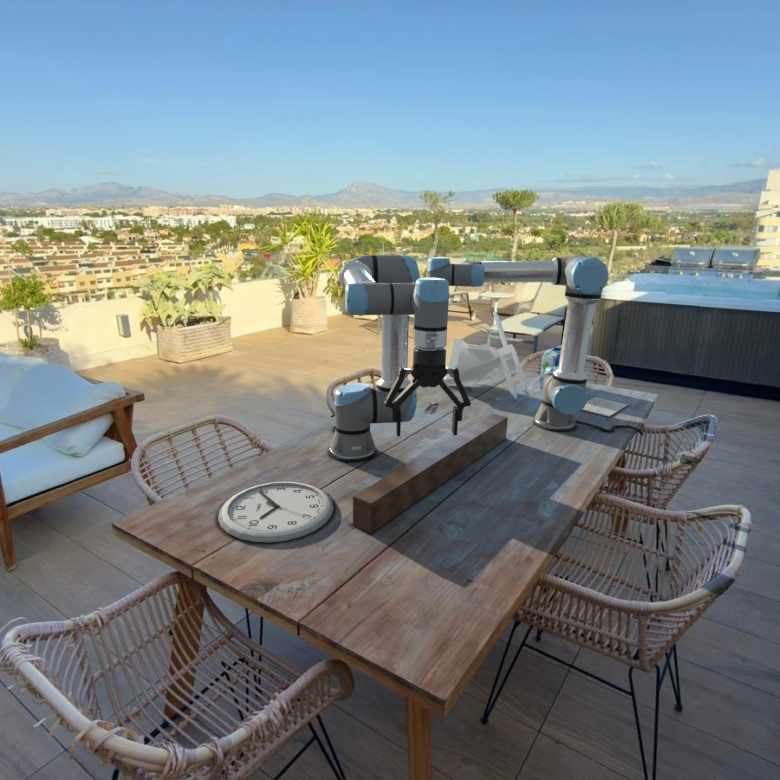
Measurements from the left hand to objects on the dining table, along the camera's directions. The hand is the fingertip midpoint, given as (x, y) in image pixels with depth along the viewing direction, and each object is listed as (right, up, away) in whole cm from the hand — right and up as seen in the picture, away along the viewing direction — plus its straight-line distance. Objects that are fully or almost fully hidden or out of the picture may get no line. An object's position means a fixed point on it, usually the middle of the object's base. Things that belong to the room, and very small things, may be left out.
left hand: (426, 433), depth 126 cm
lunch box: (+73, +11, +125) cm, 145 cm away
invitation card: (+83, +3, +101) cm, 130 cm away
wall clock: (-39, -22, +14) cm, 47 cm away
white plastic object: (+33, +9, +118) cm, 123 cm away
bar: (+8, -16, +36) cm, 40 cm away
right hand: (+7, +21, +64) cm, 68 cm away
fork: (+9, +3, +97) cm, 98 cm away
